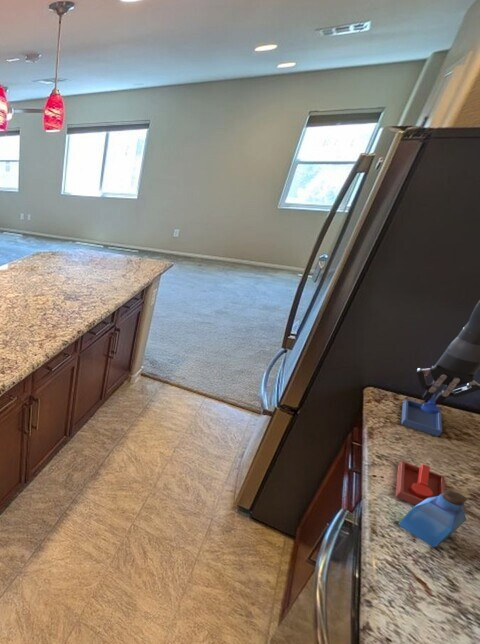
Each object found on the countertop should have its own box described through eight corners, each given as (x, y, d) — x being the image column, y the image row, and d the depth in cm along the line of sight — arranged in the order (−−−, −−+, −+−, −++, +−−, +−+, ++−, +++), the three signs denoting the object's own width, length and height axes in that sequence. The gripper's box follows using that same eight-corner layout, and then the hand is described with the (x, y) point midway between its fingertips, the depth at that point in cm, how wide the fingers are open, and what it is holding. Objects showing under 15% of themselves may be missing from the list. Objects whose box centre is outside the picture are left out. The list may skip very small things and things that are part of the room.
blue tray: (402, 403, 126) (406, 398, 125) (437, 414, 121) (441, 409, 120) (401, 424, 118) (404, 419, 117) (438, 436, 113) (442, 431, 112)
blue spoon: (420, 394, 121) (423, 390, 120) (437, 399, 119) (440, 395, 118) (420, 410, 115) (424, 406, 114) (438, 415, 112) (441, 411, 112)
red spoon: (413, 465, 101) (416, 461, 100) (432, 472, 99) (436, 468, 98) (408, 493, 96) (412, 489, 95) (429, 501, 94) (433, 497, 93)
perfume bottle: (412, 515, 91) (443, 480, 85) (448, 537, 86) (483, 502, 80) (398, 524, 89) (428, 489, 83) (434, 547, 84) (469, 512, 78)
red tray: (397, 465, 104) (401, 460, 103) (440, 481, 99) (444, 476, 98) (395, 497, 95) (399, 491, 94) (441, 516, 91) (446, 510, 90)
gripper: (501, 357, 107) (461, 406, 115) (431, 341, 115) (398, 388, 124) (505, 368, 102) (463, 418, 111) (431, 351, 110) (398, 398, 119)
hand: (429, 402), depth 117 cm, fingers closed on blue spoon, 1 cm apart
